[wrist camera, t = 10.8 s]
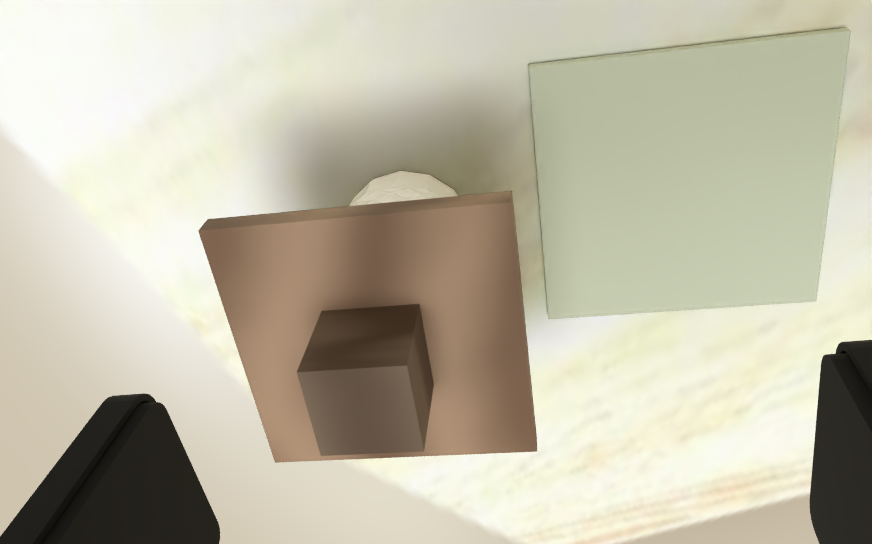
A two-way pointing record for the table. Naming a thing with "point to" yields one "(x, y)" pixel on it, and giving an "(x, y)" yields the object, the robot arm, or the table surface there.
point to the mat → (687, 173)
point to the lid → (380, 327)
